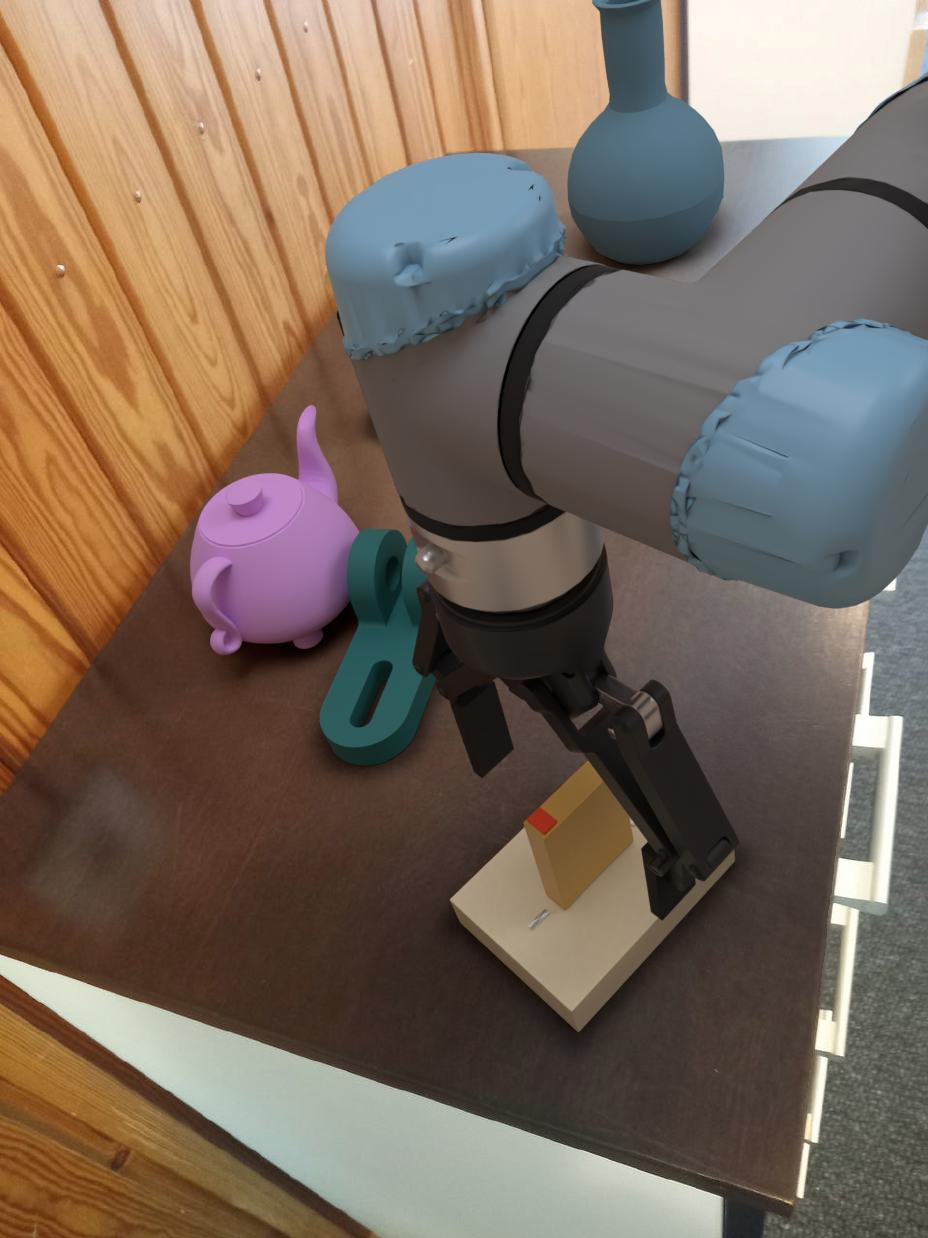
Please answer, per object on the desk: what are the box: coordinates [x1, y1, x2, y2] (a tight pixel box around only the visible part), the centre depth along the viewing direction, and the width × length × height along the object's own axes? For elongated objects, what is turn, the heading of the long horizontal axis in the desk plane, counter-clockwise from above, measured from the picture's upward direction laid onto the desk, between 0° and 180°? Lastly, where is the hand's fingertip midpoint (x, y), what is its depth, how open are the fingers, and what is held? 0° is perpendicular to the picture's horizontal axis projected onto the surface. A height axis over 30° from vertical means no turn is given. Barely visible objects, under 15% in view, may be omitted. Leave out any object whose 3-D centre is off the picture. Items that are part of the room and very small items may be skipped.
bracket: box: [319, 528, 437, 767], centre depth 76 cm, size 18×7×8 cm, turn 163°
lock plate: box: [449, 818, 736, 1033], centre depth 62 cm, size 14×10×3 cm
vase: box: [566, 0, 725, 266], centre depth 105 cm, size 16×16×25 cm
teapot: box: [189, 404, 360, 656], centre depth 82 cm, size 20×14×12 cm
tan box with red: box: [522, 760, 633, 910], centre depth 58 cm, size 6×2×8 cm, turn 133°
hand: (577, 825), depth 58 cm, fingers open, 13 cm apart
